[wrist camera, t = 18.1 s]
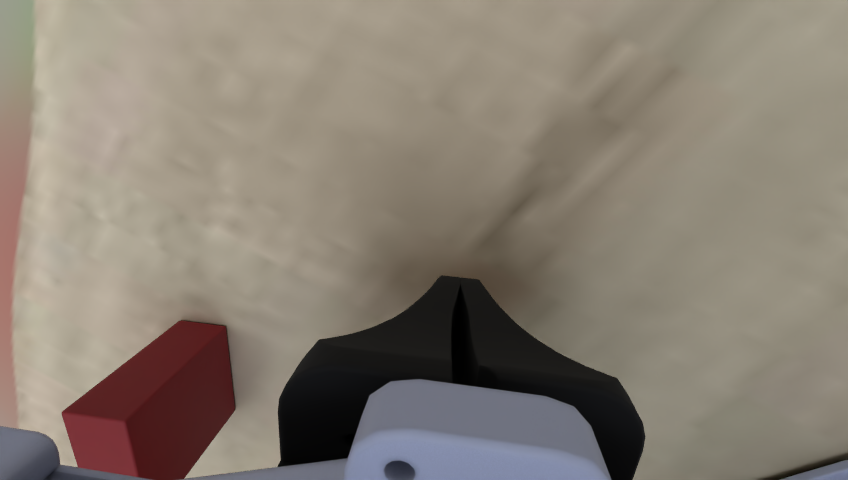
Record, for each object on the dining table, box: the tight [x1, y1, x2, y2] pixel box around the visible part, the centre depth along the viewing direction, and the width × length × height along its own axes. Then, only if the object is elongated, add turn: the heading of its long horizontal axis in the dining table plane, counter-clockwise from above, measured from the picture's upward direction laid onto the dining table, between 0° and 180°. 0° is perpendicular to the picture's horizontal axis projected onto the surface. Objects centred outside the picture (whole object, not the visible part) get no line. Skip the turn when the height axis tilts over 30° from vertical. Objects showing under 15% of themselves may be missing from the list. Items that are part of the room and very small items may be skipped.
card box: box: [62, 321, 235, 480], centre depth 16 cm, size 5×2×6 cm, turn 176°
